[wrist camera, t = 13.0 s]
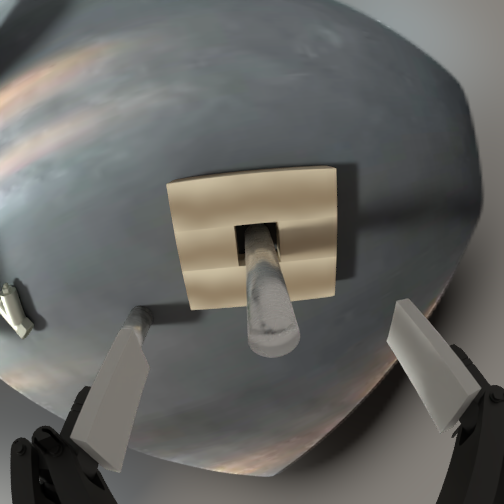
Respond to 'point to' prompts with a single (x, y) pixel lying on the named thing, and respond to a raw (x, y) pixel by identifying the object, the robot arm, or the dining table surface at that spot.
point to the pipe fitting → (14, 311)
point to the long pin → (267, 297)
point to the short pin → (139, 322)
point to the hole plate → (252, 212)
